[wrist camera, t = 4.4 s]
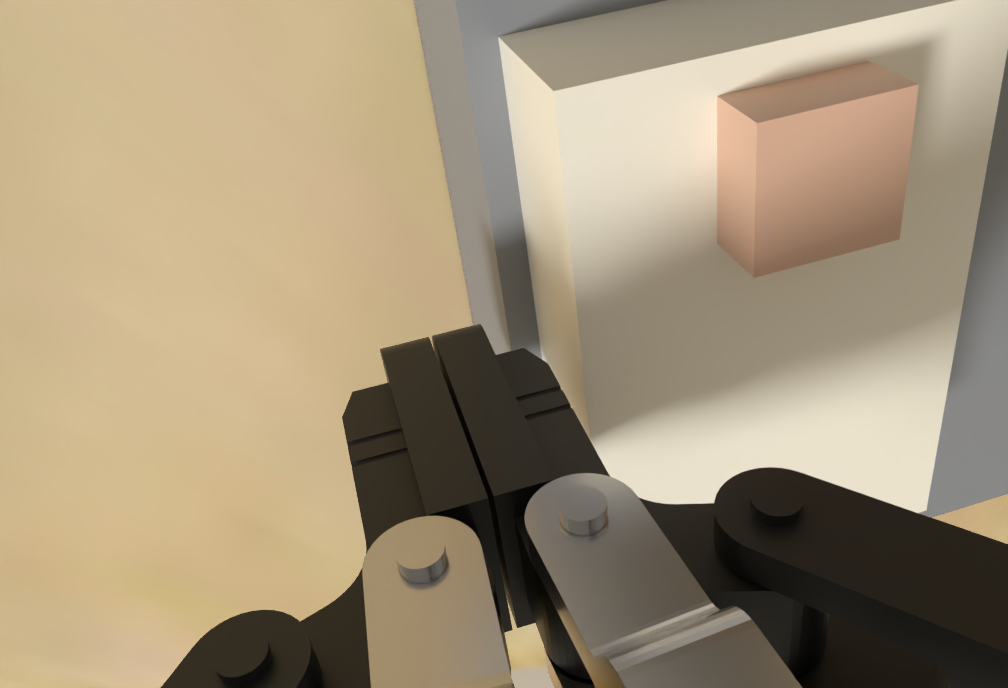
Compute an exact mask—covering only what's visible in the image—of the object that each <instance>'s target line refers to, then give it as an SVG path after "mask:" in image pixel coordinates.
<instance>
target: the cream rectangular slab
mask: <svg viewBox="0 0 1008 688" xmlns="http://www.w3.org/2000/svg"><path fill="white" fill-rule="evenodd" d="M498 40H499V47H500V54H501V62H502V69H503V76H504V84H505V91H506V98H507V106H508V113H509V120H510V128H511V135H512V142H513V150H514V157H515V164H516V172H517V179H518V186H519V194H520V201H521V208H522V215H523V223H524V230H525V237H526V245H527V252H528V259H529V267H530V274H531V281H532V289H533V296H534V303H535V311H536V318H537V325H538V333H539V340H540V347H541V355H542V360H543V361H545V362H546V363H548V364H549V366H550V368H551V370H552V372H553V373H554V375H555V377H556V379H557V381H558V383H559V384H560V387H561V390H563V392H564V393H565V395H566V397H567V399H568V401H569V403H570V406H571V408H573V410H574V412H575V414H576V415H577V417H578V419H579V421H580V423H581V425H582V426H583V428H584V430H585V432H586V434H587V435H588V437H589V439H590V441H591V443H592V445H593V446H594V448H595V450H596V452H597V454H598V456H599V457H600V459H601V461H602V463H603V465H604V466H605V468H606V470H607V472H608V474H609V475H610V477H612V478H615V479H617V480H619V481H621V482H623V483H625V484H626V485H627V486H628V487H630V488H631V489H632V490H633V491H634V492H635V494H636V495H637V496H638V497H639V498H642V499H644V500H648V501H652V502H656V503H663V504H706V503H714V501H715V497H716V494H717V492H718V491H719V489H720V487H721V486H722V485H723V484H724V483H725V482H726V481H728V480H729V479H730V478H732V477H733V476H735V475H737V474H739V473H741V472H744V471H747V470H751V469H756V468H766V467H774V468H784V469H790V470H794V471H797V472H801V473H804V474H807V475H809V476H812V477H815V478H818V479H821V480H824V481H827V482H830V483H832V484H835V485H838V486H841V487H844V488H847V489H850V490H853V491H855V492H858V493H861V494H864V495H867V496H870V497H873V498H876V499H879V500H881V501H884V502H887V503H890V504H893V505H896V506H899V507H902V508H904V509H907V510H910V511H913V512H916V513H920V512H923V511H926V510H927V504H928V498H929V493H930V487H931V481H932V476H933V470H934V464H935V459H936V453H937V447H938V442H939V436H940V430H941V425H942V419H943V413H944V408H945V402H946V396H947V391H948V385H949V379H950V374H951V368H952V362H953V357H954V351H955V345H956V340H957V334H958V328H959V323H960V317H961V311H962V306H963V300H964V294H965V289H966V283H967V277H968V272H969V266H970V260H971V254H972V249H973V243H974V237H975V232H976V226H977V220H978V215H979V209H980V203H981V198H982V192H983V186H984V181H985V175H986V169H987V164H988V158H989V152H990V147H991V141H992V135H993V130H994V124H995V118H996V113H997V107H998V101H999V96H1000V90H1001V84H1002V79H1003V73H1004V67H1005V62H1006V56H1007V50H1008V0H666V1H662V2H657V3H652V4H648V5H643V6H638V7H634V8H629V9H624V10H620V11H615V12H610V13H606V14H601V15H597V16H592V17H587V18H583V19H578V20H573V21H569V22H564V23H559V24H555V25H550V26H545V27H541V28H536V29H531V30H527V31H522V32H518V33H513V34H508V35H504V36H499V37H498Z"/></svg>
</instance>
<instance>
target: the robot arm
mask: <svg viewBox="0 0 1008 688" xmlns="http://www.w3.org/2000/svg"><path fill="white" fill-rule="evenodd" d="M432 341H433V347H434V349H433V347H432V344H431V341H430V339H429V337H427V338H423V339H419V340H415V341H411V342H407V343H403V344H399V345H395V346H391V347H387V348H383V349H380V351H381V356H382V360H383V364H384V368H385V372H386V376H387V381H388V383H385V384H382V385H378V386H374V387H370V388H366V389H362V390H358V391H354V392H352V395H351V397H350V400H349V402H348V405H347V407H346V409H345V412H344V414H343V417H342V419H343V424H344V429H345V434H346V440H347V444H348V450H349V455H350V460H351V465H352V471H353V476H354V481H355V486H356V492H357V497H358V502H359V507H360V512H361V518H362V523H363V528H364V533H365V539H366V547H367V551H366V556H365V558H364V562H363V567H362V569H361V571H360V573H359V575H358V577H357V578H356V580H355V581H354V582H353V584H352V585H351V586H350V587H349V588H348V589H347V590H346V591H345V592H344V593H343V594H342V595H341V596H340V597H339V598H337V599H336V600H335V601H333V602H332V603H330V604H329V605H327V606H326V607H324V608H323V609H321V610H319V611H317V612H316V613H314V614H312V615H311V616H309V617H307V618H306V619H304V620H302V621H300V622H299V621H298V620H297V619H295V618H294V617H292V616H291V615H288V614H286V613H283V612H279V611H274V610H258V611H251V612H247V613H243V614H240V615H237V616H234V617H232V618H229V619H228V620H226V621H224V622H222V623H220V624H219V625H217V626H216V627H214V628H213V629H211V630H210V631H209V632H207V633H206V634H205V635H204V636H203V637H202V638H201V639H200V640H199V641H198V642H197V643H196V644H195V645H194V647H193V648H192V649H191V650H190V652H189V653H188V654H187V655H186V657H185V658H184V659H183V660H182V662H181V663H180V664H179V665H178V667H177V668H176V669H175V670H174V672H173V673H172V674H171V676H170V677H169V678H168V679H167V681H166V682H165V683H164V684H163V686H162V687H161V688H515V687H514V684H513V683H512V678H511V666H510V661H509V655H508V650H507V645H506V640H505V635H504V632H507V631H510V630H512V625H511V620H510V614H509V609H508V603H509V605H510V608H511V611H512V614H513V617H514V620H515V623H516V626H517V628H519V627H523V626H526V625H529V624H532V623H536V625H537V628H538V631H539V633H540V636H541V639H542V641H543V644H544V648H545V654H546V661H547V667H548V673H549V675H550V678H551V681H552V683H553V685H554V687H555V688H1008V544H1005V543H1002V542H999V541H996V540H994V539H991V538H988V537H985V536H982V535H979V534H976V533H973V532H971V531H968V530H965V529H962V528H959V527H956V526H953V525H950V524H948V523H945V522H942V521H939V520H936V519H933V518H930V517H927V516H925V515H922V514H919V513H916V512H913V511H910V510H907V509H904V508H902V507H899V506H896V505H893V504H890V503H887V502H884V501H881V500H879V499H876V498H873V497H870V496H867V495H864V494H861V493H858V492H855V491H853V490H850V489H847V488H844V487H841V486H838V485H835V484H832V483H830V482H827V481H824V480H821V479H818V478H815V477H812V476H809V475H807V474H804V473H801V472H797V471H794V470H790V469H784V468H774V467H766V468H756V469H751V470H747V471H744V472H741V473H739V474H737V475H735V476H733V477H732V478H730V479H729V480H728V481H726V482H725V483H724V484H723V485H722V486H721V487H720V489H719V491H718V492H717V494H716V497H715V501H714V503H706V504H663V503H656V502H652V501H648V500H644V499H642V498H639V497H638V496H637V495H636V494H635V492H634V491H633V490H632V489H631V488H630V487H628V486H627V485H626V484H625V483H623V482H621V481H619V480H617V479H615V478H612V477H610V475H609V474H608V472H607V470H606V468H605V466H604V465H603V463H602V461H601V459H600V457H599V456H598V454H597V452H596V450H595V448H594V446H593V445H592V443H591V441H590V439H589V437H588V435H587V434H586V432H585V430H584V428H583V426H582V425H581V423H580V421H579V419H578V417H577V415H576V414H575V412H574V410H573V408H571V406H570V403H569V401H568V399H567V397H566V395H565V393H564V392H563V390H561V387H560V384H559V383H558V381H557V379H556V377H555V375H554V373H553V372H552V370H551V368H550V366H549V364H548V363H546V362H545V361H543V360H542V359H540V358H539V357H537V356H536V355H534V354H533V353H531V352H530V351H528V350H526V349H525V348H521V349H517V350H513V351H509V352H505V353H501V354H498V355H496V354H495V352H494V350H493V348H492V346H491V344H490V342H489V339H488V337H487V335H486V333H485V331H484V329H483V327H482V325H481V324H478V325H474V326H470V327H466V328H462V329H458V330H454V331H450V332H446V333H442V334H438V335H434V336H432ZM506 597H507V598H506ZM507 600H508V603H507Z"/></svg>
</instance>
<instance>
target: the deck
mask: <svg viewBox="0 0 1008 688" xmlns="http://www.w3.org/2000/svg"><path fill="white" fill-rule="evenodd" d="M662 1H666V0H414V4H415V9H416V15H417V20H418V26H419V31H420V37H421V42H422V47H423V53H424V58H425V64H426V69H427V75H428V80H429V85H430V91H431V96H432V102H433V107H434V113H435V118H436V124H437V129H438V134H439V140H440V145H441V151H442V156H443V162H444V167H445V172H446V178H447V183H448V189H449V194H450V200H451V205H452V211H453V216H454V221H455V227H456V232H457V238H458V243H459V249H460V254H461V259H462V265H463V270H464V276H465V281H466V287H467V292H468V298H469V303H470V308H471V314H472V319H473V325H478V324H481V325H482V327H483V329H484V331H485V333H486V335H487V337H488V339H489V342H490V344H491V346H492V348H493V350H494V352H495V354H496V355H498V354H501V353H505V352H509V351H513V350H517V349H521V348H525V349H526V350H528V351H530V352H531V353H533V354H534V355H536V356H537V357H539V358H540V359H542V355H541V347H540V340H539V333H538V325H537V318H536V311H535V303H534V296H533V289H532V281H531V274H530V267H529V259H528V252H527V245H526V237H525V230H524V223H523V215H522V208H521V201H520V194H519V186H518V179H517V172H516V164H515V157H514V150H513V142H512V135H511V128H510V120H509V113H508V106H507V98H506V91H505V84H504V76H503V69H502V62H501V54H500V47H499V40H498V37H499V36H504V35H508V34H513V33H518V32H522V31H527V30H531V29H536V28H541V27H545V26H550V25H555V24H559V23H564V22H569V21H573V20H578V19H583V18H587V17H592V16H597V15H601V14H606V13H610V12H615V11H620V10H624V9H629V8H634V7H638V6H643V5H648V4H652V3H657V2H662ZM1005 494H1008V50H1007V56H1006V62H1005V67H1004V73H1003V79H1002V84H1001V90H1000V96H999V101H998V107H997V113H996V118H995V124H994V130H993V135H992V141H991V147H990V152H989V158H988V164H987V169H986V175H985V181H984V186H983V192H982V198H981V203H980V209H979V215H978V220H977V226H976V232H975V237H974V243H973V249H972V254H971V260H970V266H969V272H968V277H967V283H966V289H965V294H964V300H963V306H962V311H961V317H960V323H959V328H958V334H957V340H956V345H955V351H954V357H953V362H952V368H951V374H950V379H949V385H948V391H947V396H946V402H945V408H944V413H943V419H942V425H941V430H940V436H939V442H938V447H937V453H936V459H935V464H934V470H933V476H932V481H931V487H930V493H929V498H928V504H927V510H926V511H923V512H920V513H919V514H922V515H925V516H927V517H930V518H932V517H935V516H938V515H941V514H944V513H948V512H951V511H954V510H957V509H960V508H964V507H967V506H970V505H973V504H976V503H980V502H983V501H986V500H989V499H992V498H996V497H999V496H1002V495H1005Z"/></svg>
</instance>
